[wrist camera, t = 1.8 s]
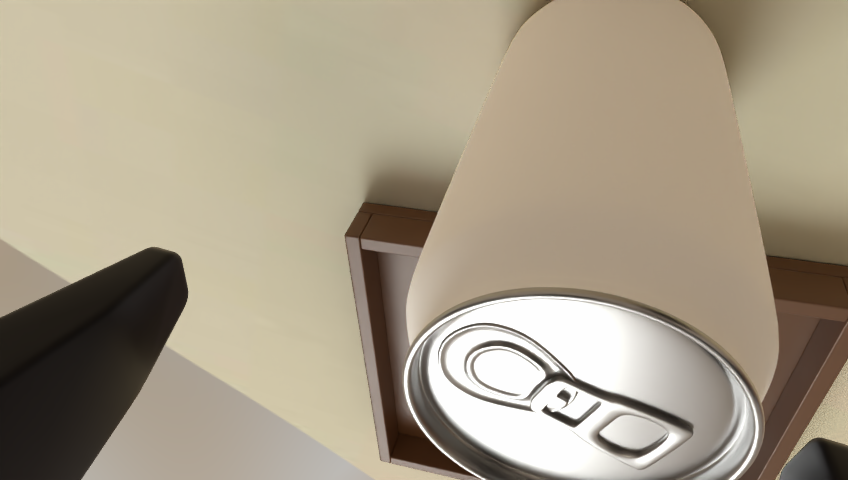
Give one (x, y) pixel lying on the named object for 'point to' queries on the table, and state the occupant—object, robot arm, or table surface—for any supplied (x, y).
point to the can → (597, 262)
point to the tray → (408, 446)
